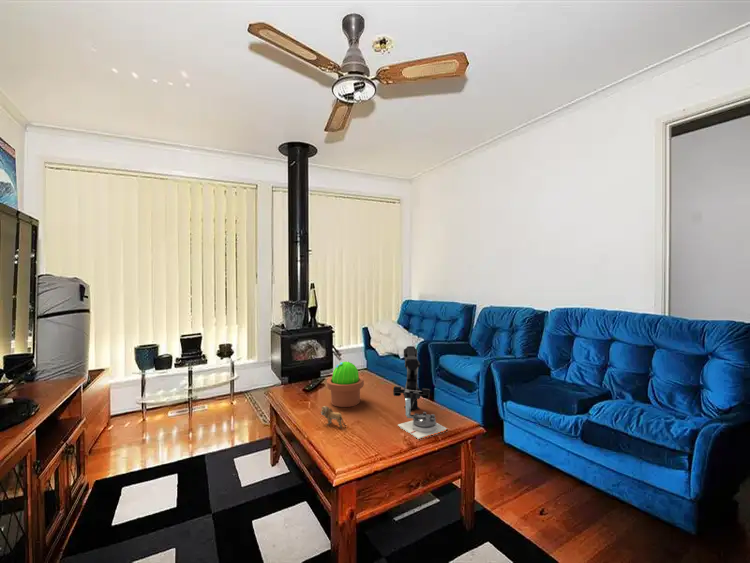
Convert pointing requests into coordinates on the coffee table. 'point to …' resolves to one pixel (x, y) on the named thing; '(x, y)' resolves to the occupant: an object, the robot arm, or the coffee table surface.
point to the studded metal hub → (419, 416)
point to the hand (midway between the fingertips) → (410, 408)
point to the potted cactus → (345, 385)
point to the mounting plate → (418, 434)
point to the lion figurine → (332, 415)
